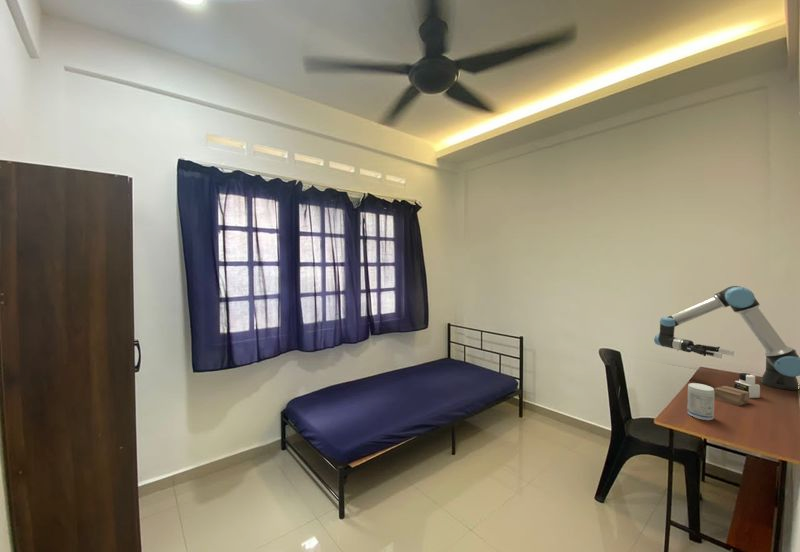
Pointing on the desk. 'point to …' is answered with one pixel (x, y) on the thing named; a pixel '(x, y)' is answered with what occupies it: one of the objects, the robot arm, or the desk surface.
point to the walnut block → (731, 395)
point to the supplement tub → (700, 401)
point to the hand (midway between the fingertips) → (727, 354)
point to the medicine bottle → (748, 385)
